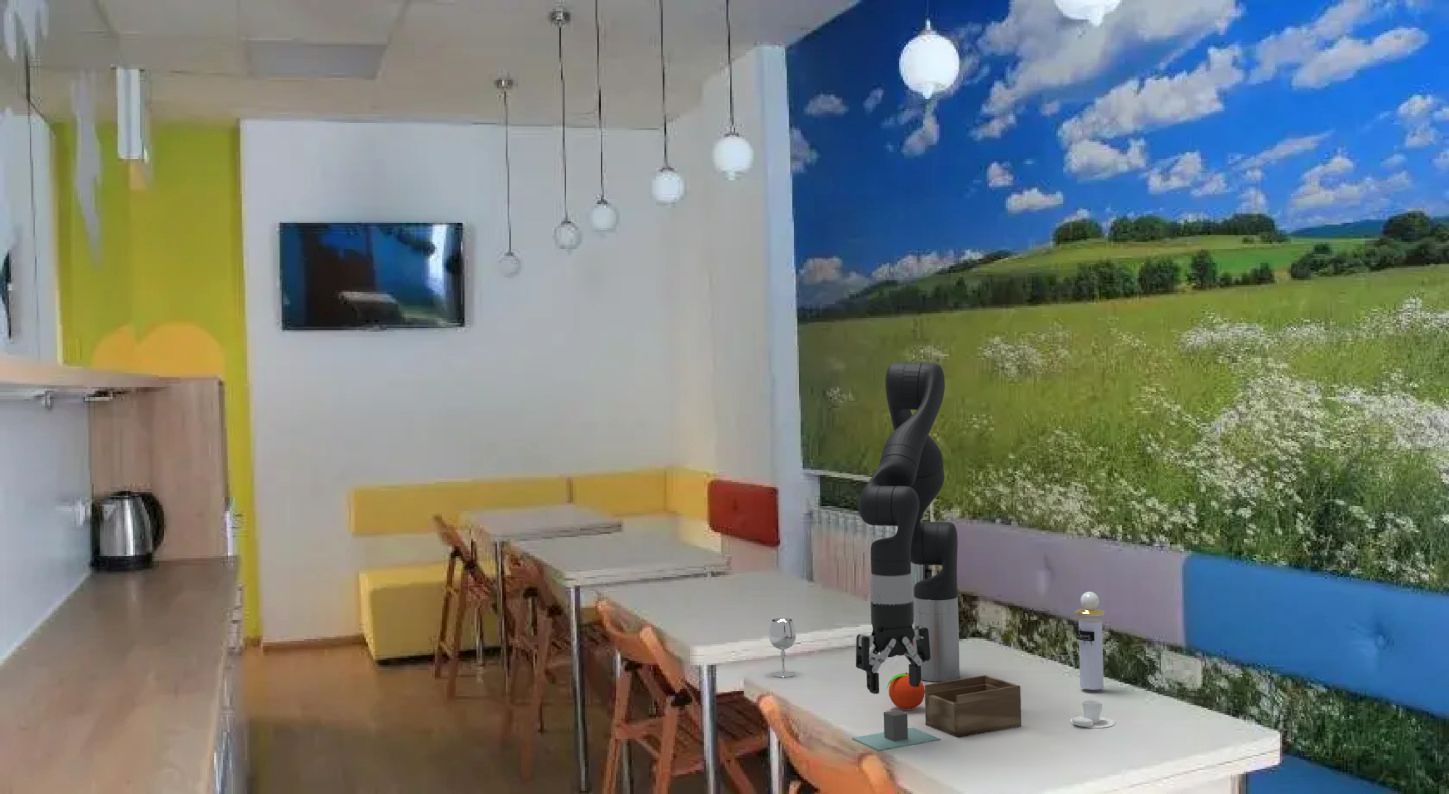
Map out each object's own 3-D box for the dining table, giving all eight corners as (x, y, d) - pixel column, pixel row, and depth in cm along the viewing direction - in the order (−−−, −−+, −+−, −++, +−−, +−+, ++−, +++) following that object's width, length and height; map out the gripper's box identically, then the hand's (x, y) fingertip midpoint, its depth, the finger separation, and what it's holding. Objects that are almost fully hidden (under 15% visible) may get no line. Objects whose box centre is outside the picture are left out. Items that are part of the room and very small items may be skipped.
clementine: (897, 716, 233) (896, 679, 232) (877, 708, 239) (876, 672, 239) (932, 710, 236) (931, 674, 236) (912, 703, 242) (911, 667, 242)
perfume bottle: (1087, 685, 252) (1085, 588, 252) (1112, 690, 248) (1110, 591, 248) (1071, 690, 248) (1068, 592, 248) (1096, 695, 244) (1094, 595, 244)
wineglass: (779, 670, 273) (778, 617, 273) (801, 673, 269) (800, 619, 269) (765, 676, 268) (763, 621, 268) (787, 679, 265) (786, 623, 265)
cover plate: (852, 742, 218) (851, 712, 218) (913, 731, 224) (912, 702, 224) (878, 754, 211) (877, 723, 211) (940, 743, 216) (939, 713, 216)
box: (925, 724, 226) (924, 684, 226) (986, 714, 232) (985, 675, 232) (959, 738, 217) (957, 696, 217) (1021, 726, 223) (1020, 685, 223)
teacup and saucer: (1081, 732, 220) (1080, 710, 220) (1057, 721, 228) (1057, 699, 228) (1124, 728, 222) (1123, 705, 222) (1099, 717, 230) (1098, 695, 230)
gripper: (912, 591, 224) (915, 679, 224) (846, 599, 217) (848, 690, 218) (937, 597, 217) (939, 688, 217) (869, 606, 211) (872, 700, 211)
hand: (894, 689), depth 217 cm, fingers open, 8 cm apart
